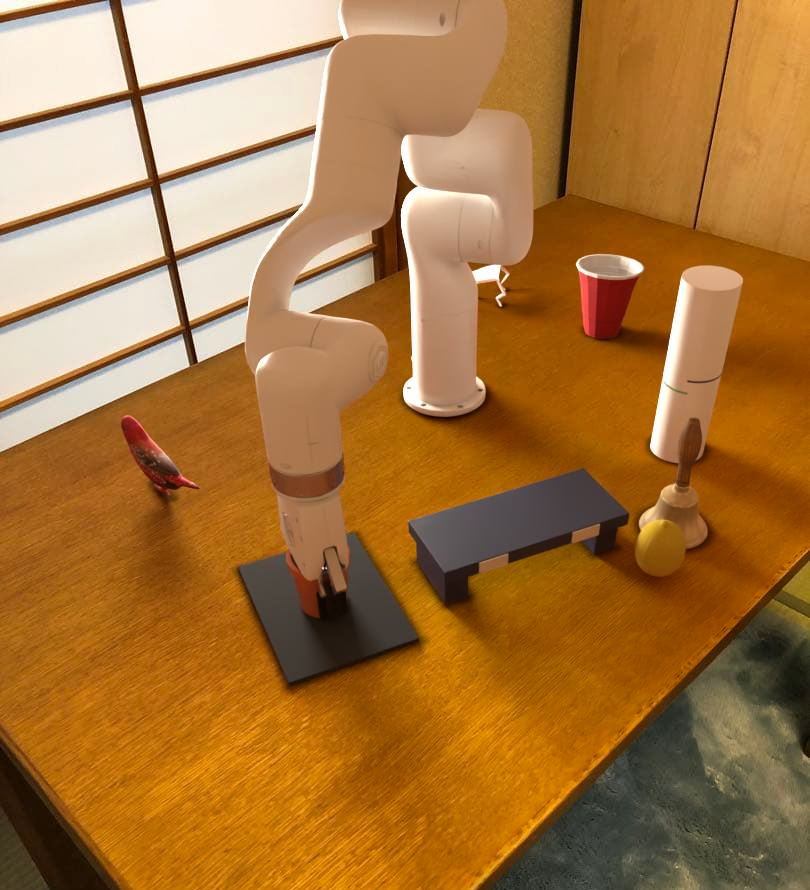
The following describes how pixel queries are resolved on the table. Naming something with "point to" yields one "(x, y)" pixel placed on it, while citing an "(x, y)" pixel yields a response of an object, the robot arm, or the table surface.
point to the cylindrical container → (695, 354)
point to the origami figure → (491, 277)
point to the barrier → (514, 529)
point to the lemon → (660, 548)
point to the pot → (309, 586)
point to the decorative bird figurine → (152, 458)
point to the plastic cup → (606, 291)
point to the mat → (334, 640)
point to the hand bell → (682, 491)
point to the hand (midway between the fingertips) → (323, 595)
